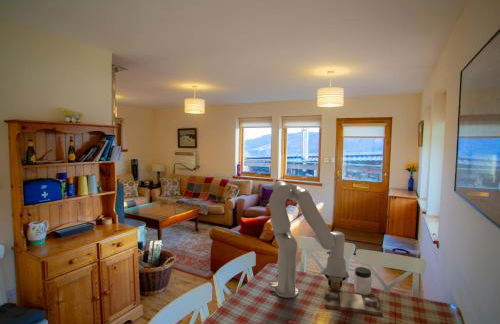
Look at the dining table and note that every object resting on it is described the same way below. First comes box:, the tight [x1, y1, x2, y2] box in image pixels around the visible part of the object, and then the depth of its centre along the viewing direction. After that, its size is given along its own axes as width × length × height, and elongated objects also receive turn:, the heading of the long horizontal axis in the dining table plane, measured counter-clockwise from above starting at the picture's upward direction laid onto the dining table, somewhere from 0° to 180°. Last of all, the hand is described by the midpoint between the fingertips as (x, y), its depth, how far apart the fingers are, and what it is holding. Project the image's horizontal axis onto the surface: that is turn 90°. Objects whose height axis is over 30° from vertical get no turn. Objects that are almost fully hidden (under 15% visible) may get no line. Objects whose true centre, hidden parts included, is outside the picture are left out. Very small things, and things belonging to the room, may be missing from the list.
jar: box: [353, 266, 372, 296], centre depth 158 cm, size 9×8×12 cm
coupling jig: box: [324, 290, 383, 316], centre depth 145 cm, size 26×14×4 cm, turn 76°
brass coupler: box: [330, 276, 341, 292], centre depth 158 cm, size 5×6×7 cm
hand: (334, 287), depth 158 cm, fingers closed on brass coupler, 4 cm apart
